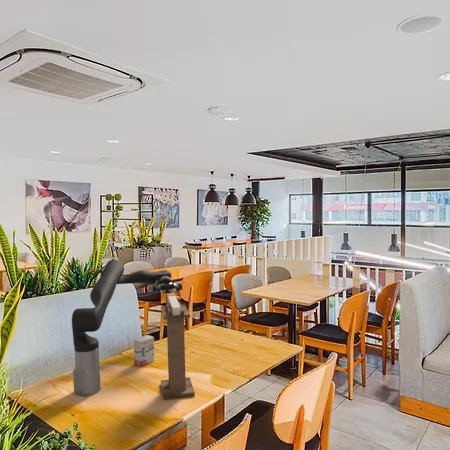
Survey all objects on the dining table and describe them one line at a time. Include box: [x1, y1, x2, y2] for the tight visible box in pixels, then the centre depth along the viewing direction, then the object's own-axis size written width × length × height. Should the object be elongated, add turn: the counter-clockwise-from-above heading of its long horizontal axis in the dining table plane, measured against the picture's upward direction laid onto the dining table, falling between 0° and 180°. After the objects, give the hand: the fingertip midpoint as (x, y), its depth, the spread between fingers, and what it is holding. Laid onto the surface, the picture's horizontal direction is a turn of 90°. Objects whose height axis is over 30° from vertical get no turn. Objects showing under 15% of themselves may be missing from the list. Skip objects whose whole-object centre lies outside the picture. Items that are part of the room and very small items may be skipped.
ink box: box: [133, 334, 155, 367], centre depth 184 cm, size 9×5×12 cm, turn 143°
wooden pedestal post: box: [160, 300, 196, 401], centre depth 155 cm, size 16×12×34 cm
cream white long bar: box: [166, 292, 181, 316], centre depth 159 cm, size 24×3×3 cm, turn 13°
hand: (168, 290), depth 185 cm, fingers open, 8 cm apart
